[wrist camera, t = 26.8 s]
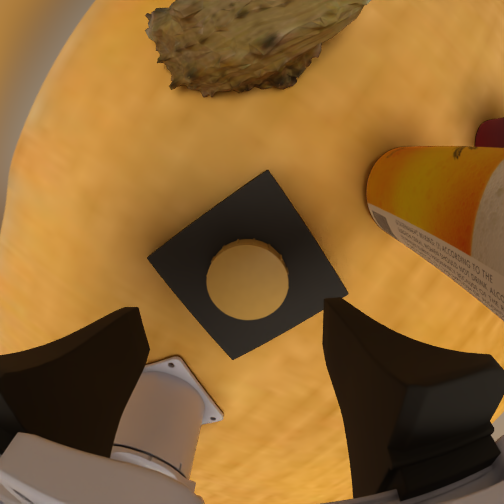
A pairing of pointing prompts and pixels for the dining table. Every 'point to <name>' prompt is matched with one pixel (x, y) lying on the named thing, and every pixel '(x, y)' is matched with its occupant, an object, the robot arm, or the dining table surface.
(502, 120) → the cup
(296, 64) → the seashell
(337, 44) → the dining table surface
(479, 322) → the dining table surface
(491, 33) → the dining table surface
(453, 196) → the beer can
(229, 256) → the lid
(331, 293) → the coaster
